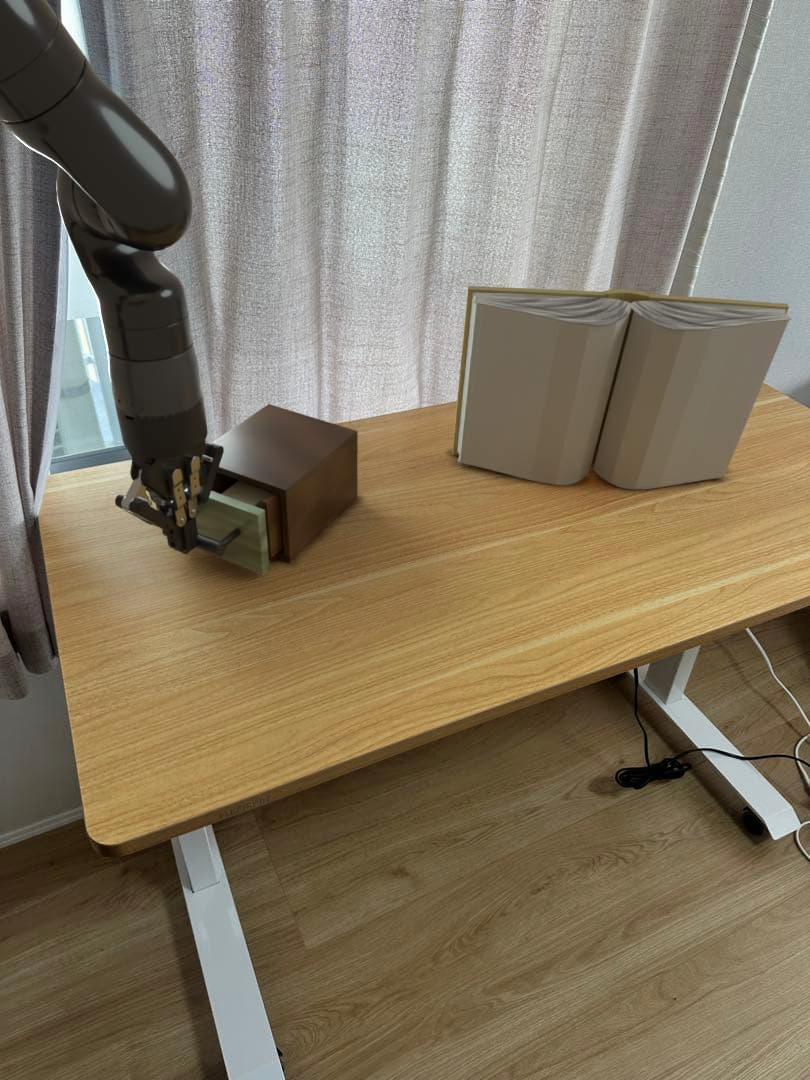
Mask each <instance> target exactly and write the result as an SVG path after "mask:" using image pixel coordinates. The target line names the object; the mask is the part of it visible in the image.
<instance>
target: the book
mask: <svg viewBox="0 0 810 1080" xmlns="http://www.w3.org/2000/svg"><path fill="white" fill-rule="evenodd" d="M466 292H467V294H466V302H465V312H464V313H465V314H464V324H463V325H464V326H463V334H462V345H461V354H460V355H461V356H460V364H459V365H460V366H459V376H458V377H459V378H458V386H457V397H456V408H455V418H454V419H455V420H454V428H453V429H454V431H453V438H452V440H453V441H452V448H451V449H452V451H451V455H452V456H456V457H457V456H458V459H457V460H456V463H460V464H464V465H467V466H473V467H475V468H480V469H484V470H488V471H492V472H496V473H499V474H502V475H503V474H504V475H508V476H511V477H514V478H519V479H522V480H526V481H531V482H535V483H540V484H542V485H543V484H544V485H551V486H569V485H573V484H576V483H578V482H579V481H581V480H582V479H584V478H585V477H586V476H587V475H588V474H589V472H590V470H591V469H592V470H593V472H594V473H595V474H596V475H597V476H598V477H599V478H601V479H602V480H604V481H605V482H606V483H608V484H610V485H611V486H614V487H616V488H618V489H619V488H620V489H624V490H628V491H629V490H630V491H640V490H642V491H643V490H653V489H659V488H666V487H671V486H678V485H685V484H690V483H696V482H701V481H708V480H715V479H722V478H726V477H728V476H727V474H726V473H727V471H728V469H729V466H730V463H731V461H732V458H733V457H734V454H735V452H736V449H737V446H738V444H739V442H740V440H741V437H742V434H743V433H744V429H745V428H746V425H747V423H748V420H749V418H750V415H751V413H752V410H753V408H754V406H755V403H756V401H757V399H758V396H759V393H760V392H761V389H762V387H763V384H764V381H765V379H766V376H767V374H768V372H769V370H770V368H771V364H772V362H773V361H774V358H775V355H776V353H777V350H778V347H779V345H780V343H781V340H782V338H783V335H784V333H785V330H786V328H787V326H788V324H789V321H790V320H791V321H792V320H793V318H792V317H790V316H789V315H787V313H788V310H789V308H790V306H789V304H788V303H782V302H769V301H767V302H766V301H756V300H755V301H754V300H742V299H740V300H739V299H727V298H715V297H714V298H713V297H712V298H711V297H700V296H699V297H698V296H685V295H673V294H672V295H669V294H657V293H648V292H645V291H641V290H635V289H628V288H627V289H626V288H613V289H607V290H604V291H598V290H596V291H595V290H575V289H550V288H529V287H527V288H526V287H505V286H504V287H503V286H479V285H467V291H466Z"/></svg>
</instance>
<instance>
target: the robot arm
mask: <svg viewBox="0 0 810 1080" xmlns="http://www.w3.org/2000/svg"><path fill="white" fill-rule="evenodd" d="M0 122H1V123H2V125H3V126H4V127H5V128H6V129H7V130H8V132H9V133H11V134H12V136H13V137H15V138H16V139H17V140H18V141H20V143H22V144H23V145H24V146H26V147H27V148H29V149H30V150H32V151H34V152H36V153H38V154H40V155H42V157H45V158H47V159H48V160H51V161H52V162H54V163H55V164H56V165H57V166H58V167H57V174H56V186H55V187H56V199H57V204H58V208H59V213H60V217H61V219H62V223H63V225H64V229H65V231H66V233H67V236H68V239H69V241H70V243H71V246H72V248H73V250H74V252H75V255H76V257H77V259H78V261H79V265H80V266H81V269H82V271H83V273H84V275H85V278H86V279H87V281H88V283H89V285H90V287H91V289H92V291H93V293H94V295H95V298H96V301H97V305H98V312H99V317H100V322H101V326H102V331H103V336H104V337H103V338H104V342H105V346H106V353H107V366H108V370H107V371H108V377H109V382H110V388H111V393H112V398H113V402H114V408H115V412H116V417H117V422H118V426H119V431H120V436H121V440H122V444H123V445H124V447H125V449H126V450H127V452H128V454H129V456H130V457H131V465H130V469H129V471H130V472H129V474H130V478H131V480H132V482H131V484H130V487H129V488H128V490H127V492H126V494H124V493H119V494H117V495H116V497H115V499H114V505H115V506H116V507H118V508H119V509H121V510H123V511H124V512H127V513H128V514H130V515H131V516H134V517H136V518H137V519H139V520H140V521H142V522H144V523H146V524H147V525H150V526H154V527H157V528H159V529H161V530H165V531H166V535H167V536H166V539H167V546H168V547H169V548H170V549H172V550H174V551H177V552H179V553H181V554H184V555H188V554H190V553H191V551H193V550H194V549H196V548H195V547H197V539H198V531H197V524H196V518H195V517H196V515H197V513H198V506H199V505H200V503H203V504H205V503H206V502H207V501H208V499H209V496H210V493H211V490H212V487H213V483H214V480H215V477H216V474H217V471H218V468H219V465H220V462H221V459H222V456H223V452H224V448H223V447H222V446H220V445H217V444H214V443H212V442H211V441H208V440H206V439H207V436H208V424H207V416H206V409H205V407H206V406H205V400H204V394H203V385H202V378H201V377H202V376H201V370H200V363H199V360H198V357H197V352H196V350H195V347H194V341H193V340H194V339H193V333H192V324H191V317H190V311H189V309H190V308H189V304H188V298H187V293H186V290H185V287H184V284H183V282H182V281H181V279H180V278H179V277H178V276H177V274H175V273H174V272H172V271H171V270H170V269H169V268H168V267H166V266H165V264H163V263H162V262H161V261H160V260H159V258H158V257H157V256H156V254H155V252H162V251H166V250H169V249H171V248H175V246H177V245H178V244H180V242H182V241H183V240H184V239H185V237H186V236H187V234H188V232H189V231H190V228H191V226H192V223H193V218H194V197H193V192H192V188H191V186H190V183H189V180H188V177H187V174H186V173H185V171H184V169H183V167H182V166H181V164H180V162H179V161H178V159H177V158H176V157H175V155H174V154H173V152H172V151H171V150H170V148H169V147H168V146H167V145H166V144H165V143H164V142H163V141H162V139H161V138H160V137H159V136H158V135H157V134H156V133H155V132H154V130H152V129H151V127H150V126H148V124H147V123H145V122H144V120H142V118H141V117H140V116H139V115H138V114H137V112H135V111H134V110H133V109H132V108H131V107H130V106H129V105H128V104H127V103H126V102H125V101H124V100H123V99H122V98H121V97H120V96H119V95H117V94H116V93H115V91H114V90H112V89H111V88H110V87H109V86H108V85H107V84H106V83H105V82H104V81H103V79H101V78H100V76H99V75H98V73H96V71H95V69H94V67H93V66H92V64H91V63H90V61H89V60H88V58H87V56H86V55H85V54H84V52H83V51H82V49H81V48H80V47H79V45H78V44H77V42H76V41H75V40H74V38H73V37H72V35H71V34H70V33H69V31H68V29H67V28H66V26H65V25H64V24H63V22H62V21H61V20H60V18H59V17H58V15H57V14H56V12H55V10H54V9H53V8H52V6H51V5H50V3H49V2H48V1H47V0H0ZM199 476H201V477H203V481H202V485H201V488H200V480H199ZM147 492H148V494H147ZM153 503H154V504H155V508H154V507H153V506H152V505H153Z"/></svg>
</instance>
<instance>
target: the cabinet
mask: <svg viewBox="0 0 810 1080" xmlns="http://www.w3.org/2000/svg"><path fill="white" fill-rule="evenodd" d="M358 434H359V433H358V430H355V429H353V428H349V427H346V426H343V425H339V424H336V423H333V422H330V421H326V420H323V419H320V418H316V417H313V416H310V415H306V414H303V413H300V412H296V411H294V410H290V409H287V408H284V407H283V408H282V407H280V406H278V405H274V404H270V403H268V404H267V405H265V406H264V407H262V408H260V409H259V410H258V411H257V412H254V413H253V414H252V415H250V416H248V417H247V418H246V419H245V420H242V421H241V422H239V423H238V424H236V426H234V427H232V428H230V430H228V431H226V432H225V433H223V434H222V435H220V436H219V437H218V438H215V440H213V441H212V442H211V443H214V444H217V445H220V446H222V447H223V448H224V452H223V456H222V459H221V462H220V465H219V468H218V471H217V472H218V473H220V474H223V475H226V476H229V477H232V478H235V479H238V480H240V481H243V482H246V483H249V484H252V485H255V486H258V487H260V488H263V489H266V490H269V491H272V492H275V493H277V494H280V498H281V514H282V529H283V544H284V547H283V548H282V549H281V550H280V551H279V552H277V553H276V554H275V555H274V556H273V557H275V558H277V559H280V560H283V561H285V562H287V563H292V562H293V560H295V559H296V558H297V557H299V555H301V553H302V552H303V551H305V549H306V548H307V547H308V546H310V545H311V544H312V543H313V542H314V541H315V540H316V539H317V538H318V537H319V536H320V535H321V534H323V532H324V531H325V530H326V529H328V527H330V526H331V525H332V524H333V523H334V522H335V521H336V520H337V519H338V518H339V517H340V516H341V515H342V514H343V513H345V511H347V509H348V508H349V507H351V506H352V505H353V504H354V503H355V502H356V501H357V500H358V452H359V451H358V450H359V449H358V446H359V445H358V444H359V443H358V440H359V439H358V438H359V437H358V436H359V435H358Z"/></svg>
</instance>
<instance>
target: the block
mask: <svg viewBox="0 0 810 1080" xmlns="http://www.w3.org/2000/svg"><path fill="white" fill-rule="evenodd" d="M270 493H271V492H269V491H266V490H263V489H260V488H257V487H254V486H251V485H249V484H246V483H243V482H240V481H238V482H237V483H235V484H234V485H233V486H231V487H230V488H229V489H227V490H226V491H225V492H223V493H222V495H225V496H227V497H230V498H233V499H236V500H239V501H241V502H244V503H247V504H250V505H252V506H255V507H258V508H261V509H262V507H261V501H262V500H263V499H264V498H265V497H267V496H268V495H269V494H270Z"/></svg>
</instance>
